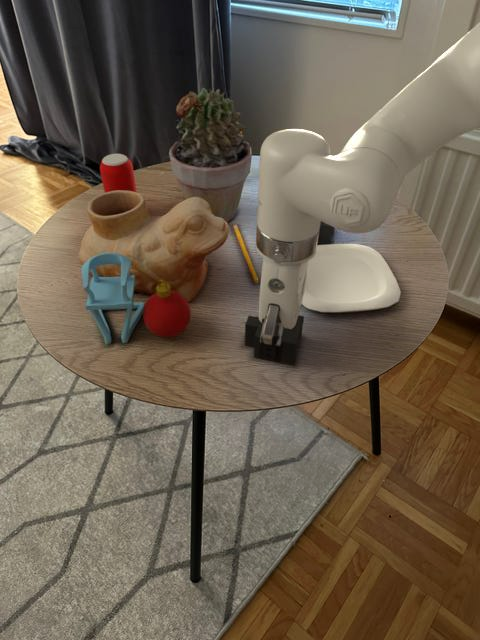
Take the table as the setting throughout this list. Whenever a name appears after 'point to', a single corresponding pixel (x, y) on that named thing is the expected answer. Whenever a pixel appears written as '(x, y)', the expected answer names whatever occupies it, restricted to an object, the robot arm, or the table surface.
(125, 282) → the chair
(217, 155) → the potted plant
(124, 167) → the beverage can
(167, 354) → the table surface
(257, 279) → the pencil
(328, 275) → the plate
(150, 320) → the christmas ornament
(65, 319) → the table surface
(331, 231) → the socket pad
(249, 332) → the black rectangular block
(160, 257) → the ceramic vessel
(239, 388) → the table surface
